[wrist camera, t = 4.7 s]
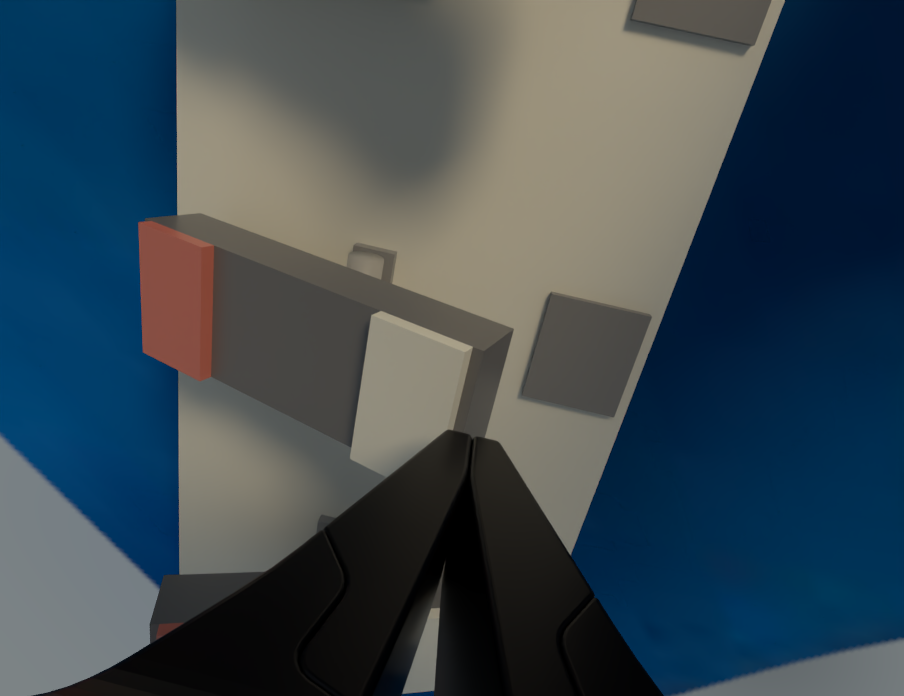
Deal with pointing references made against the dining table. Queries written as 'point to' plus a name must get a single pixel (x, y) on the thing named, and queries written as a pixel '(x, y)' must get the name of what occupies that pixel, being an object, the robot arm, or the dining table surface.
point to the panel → (453, 213)
